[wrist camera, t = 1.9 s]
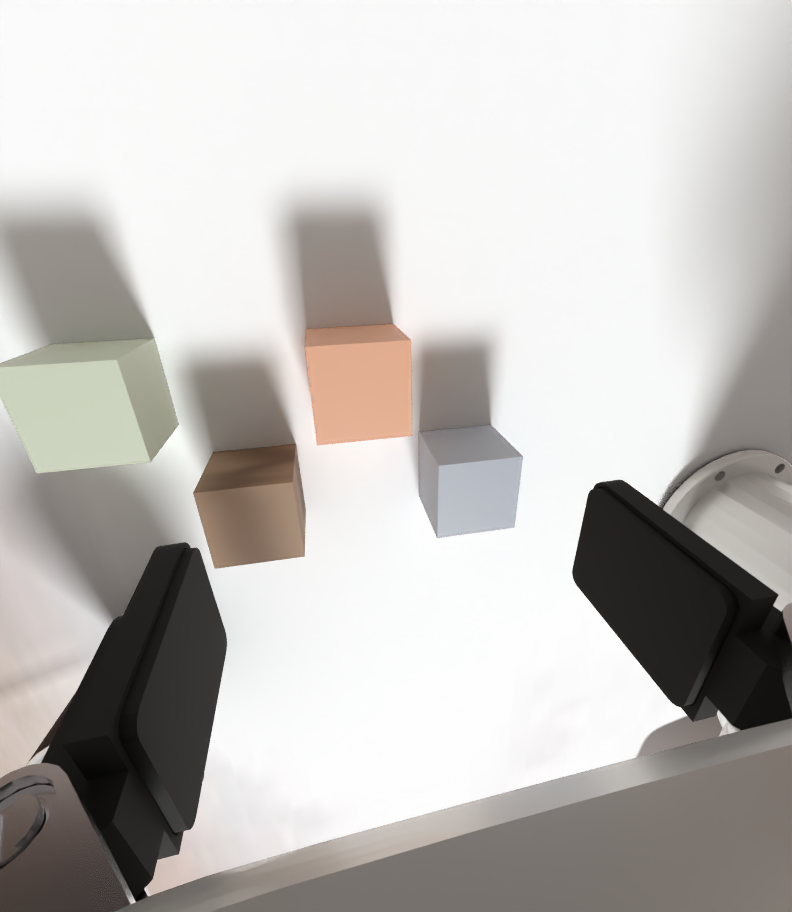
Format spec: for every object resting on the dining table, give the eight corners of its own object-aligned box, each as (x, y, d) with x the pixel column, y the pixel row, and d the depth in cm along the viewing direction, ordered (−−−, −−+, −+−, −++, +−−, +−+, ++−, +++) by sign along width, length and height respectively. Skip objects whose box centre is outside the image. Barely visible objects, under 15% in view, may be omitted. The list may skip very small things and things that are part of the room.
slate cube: (490, 424, 29) (522, 456, 24) (485, 487, 31) (514, 527, 26) (418, 431, 28) (438, 465, 23) (418, 495, 30) (437, 537, 26)
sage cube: (155, 337, 23) (116, 359, 18) (179, 423, 25) (150, 462, 20) (52, 343, 22) (-14, 368, 17) (87, 431, 24) (36, 473, 20)
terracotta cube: (393, 323, 24) (411, 339, 20) (395, 404, 27) (412, 435, 22) (306, 328, 24) (304, 347, 19) (316, 411, 26) (317, 445, 22)
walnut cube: (295, 443, 27) (292, 482, 22) (305, 509, 29) (304, 556, 24) (213, 451, 26) (193, 493, 21) (229, 518, 28) (214, 568, 24)
